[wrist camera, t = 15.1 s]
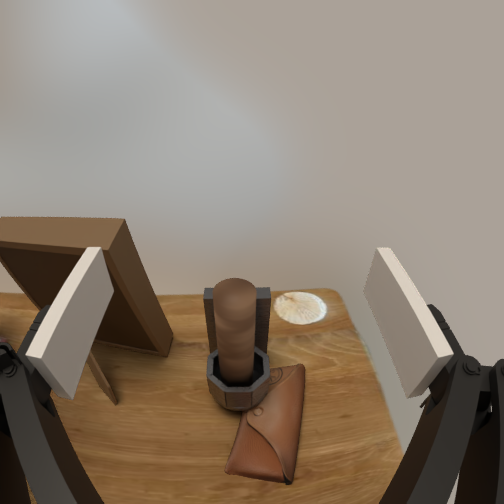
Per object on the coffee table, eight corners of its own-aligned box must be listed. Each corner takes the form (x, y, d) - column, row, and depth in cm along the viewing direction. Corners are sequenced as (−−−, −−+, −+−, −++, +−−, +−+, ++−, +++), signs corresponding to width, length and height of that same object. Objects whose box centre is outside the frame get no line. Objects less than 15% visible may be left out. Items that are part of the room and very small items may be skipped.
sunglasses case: (247, 365, 43) (272, 345, 40) (285, 383, 44) (312, 365, 41) (221, 476, 28) (250, 471, 25) (269, 488, 30) (302, 483, 26)
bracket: (269, 419, 36) (278, 361, 28) (209, 419, 35) (196, 361, 28) (263, 343, 47) (268, 274, 39) (213, 343, 47) (206, 275, 39)
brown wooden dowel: (215, 386, 36) (203, 295, 27) (233, 366, 39) (229, 273, 30) (241, 401, 34) (240, 313, 25) (258, 379, 37) (264, 288, 28)
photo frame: (71, 318, 49) (24, 198, 35) (174, 337, 47) (145, 195, 33) (36, 377, 37) (-41, 254, 23) (148, 414, 35) (78, 274, 21)
